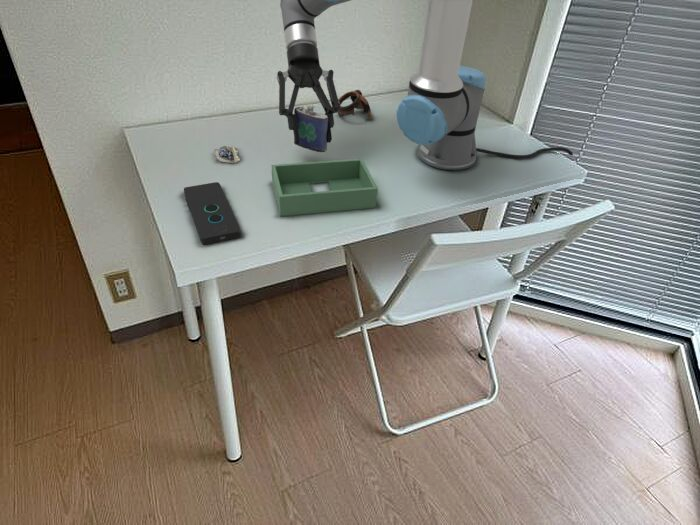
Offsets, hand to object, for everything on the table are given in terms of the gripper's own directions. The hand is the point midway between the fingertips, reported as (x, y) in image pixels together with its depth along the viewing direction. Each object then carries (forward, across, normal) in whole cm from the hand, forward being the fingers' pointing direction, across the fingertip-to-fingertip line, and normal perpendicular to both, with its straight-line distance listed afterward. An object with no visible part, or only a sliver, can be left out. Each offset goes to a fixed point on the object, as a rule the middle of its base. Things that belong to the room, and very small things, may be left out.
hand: (313, 141), depth 122 cm
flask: (0, 0, -5) cm, 5 cm away
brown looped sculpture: (-15, -18, -26) cm, 35 cm away
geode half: (-1, +20, -12) cm, 23 cm away
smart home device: (+17, +25, +6) cm, 31 cm away
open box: (+14, 0, +3) cm, 14 cm away
